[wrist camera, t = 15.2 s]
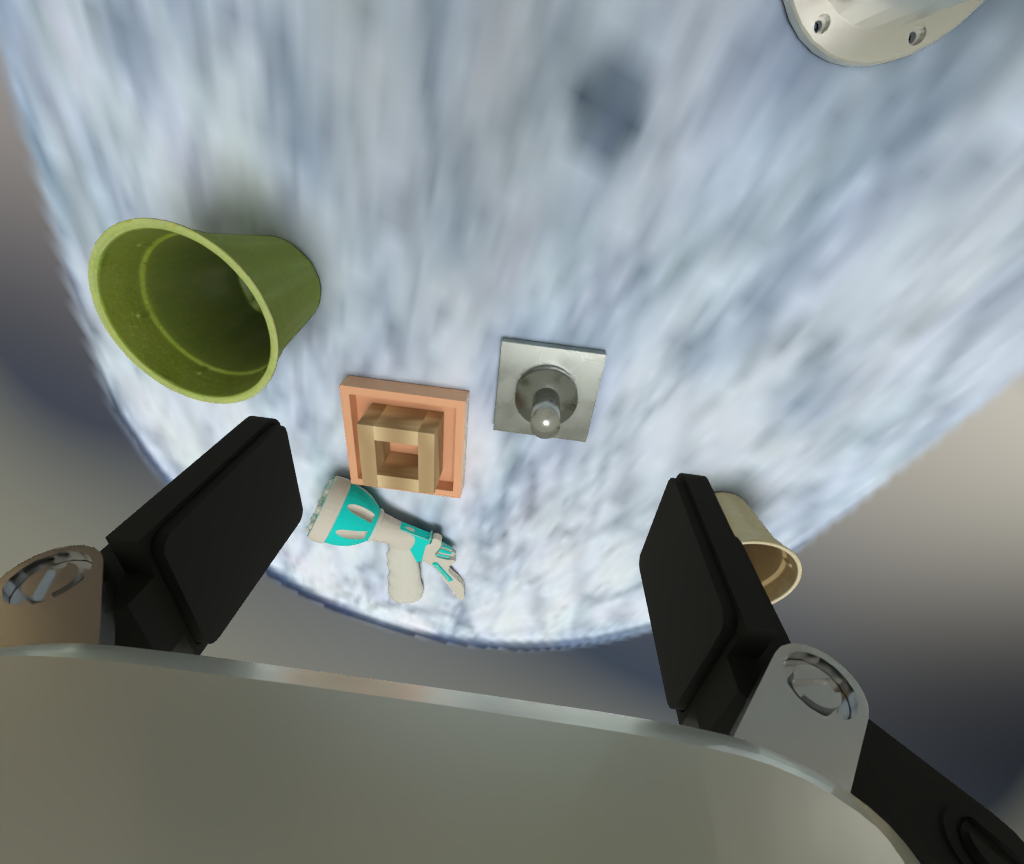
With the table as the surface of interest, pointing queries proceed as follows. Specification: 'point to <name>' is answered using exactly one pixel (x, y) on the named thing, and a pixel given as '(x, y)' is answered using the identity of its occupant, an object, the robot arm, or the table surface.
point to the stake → (547, 389)
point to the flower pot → (762, 548)
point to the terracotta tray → (450, 401)
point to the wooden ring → (401, 428)
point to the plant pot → (201, 304)
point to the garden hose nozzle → (382, 538)
